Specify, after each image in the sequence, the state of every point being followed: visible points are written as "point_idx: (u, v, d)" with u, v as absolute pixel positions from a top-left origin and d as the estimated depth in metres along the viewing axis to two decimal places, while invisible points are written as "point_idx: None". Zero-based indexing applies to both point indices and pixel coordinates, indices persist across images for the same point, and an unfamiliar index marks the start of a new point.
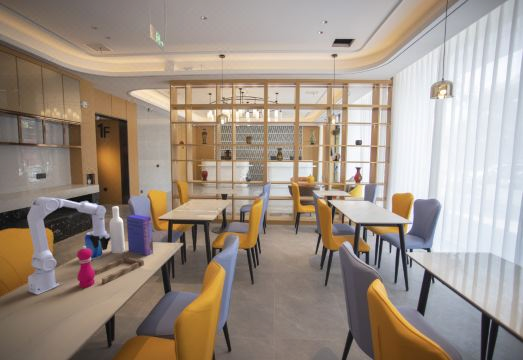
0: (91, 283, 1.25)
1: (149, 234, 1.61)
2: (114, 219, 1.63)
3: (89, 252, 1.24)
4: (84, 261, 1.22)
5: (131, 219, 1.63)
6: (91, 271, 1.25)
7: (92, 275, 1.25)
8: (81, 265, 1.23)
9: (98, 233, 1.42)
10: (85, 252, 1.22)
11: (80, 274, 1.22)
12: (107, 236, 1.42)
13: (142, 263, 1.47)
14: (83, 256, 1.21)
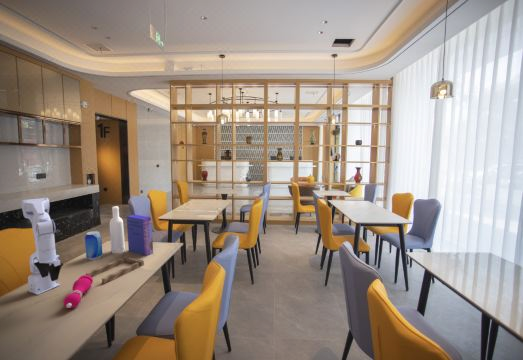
0: None
1: (149, 234, 1.61)
2: (114, 219, 1.63)
3: None
4: None
5: (131, 219, 1.63)
6: (86, 291, 1.17)
7: None
8: None
9: (45, 259, 1.07)
10: (73, 307, 1.06)
11: None
12: (57, 263, 1.07)
13: (142, 263, 1.47)
14: None
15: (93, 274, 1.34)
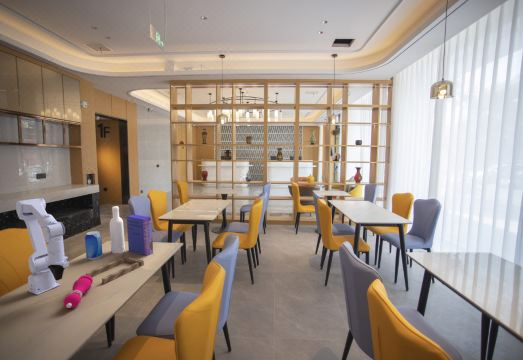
0: None
1: (149, 234, 1.61)
2: (114, 219, 1.63)
3: None
4: None
5: (131, 219, 1.63)
6: (86, 291, 1.17)
7: None
8: None
9: (54, 261, 1.11)
10: (73, 307, 1.06)
11: None
12: (65, 265, 1.10)
13: (142, 263, 1.47)
14: None
15: (93, 274, 1.34)
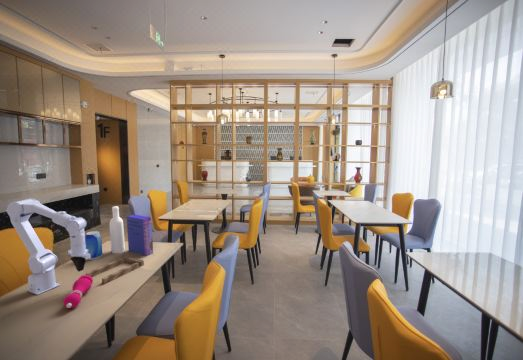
0: None
1: (149, 234, 1.61)
2: (114, 219, 1.63)
3: None
4: None
5: (131, 219, 1.63)
6: (86, 291, 1.17)
7: None
8: None
9: (77, 253, 1.19)
10: (73, 307, 1.06)
11: None
12: (88, 256, 1.18)
13: (142, 263, 1.47)
14: None
15: (93, 274, 1.34)
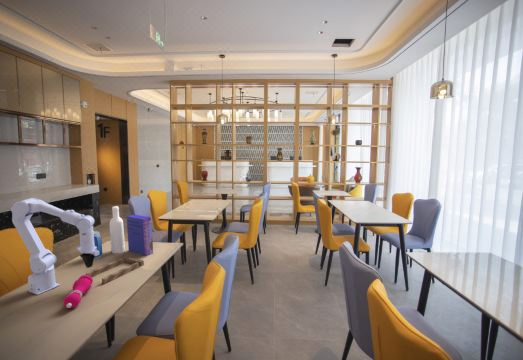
0: None
1: (149, 234, 1.61)
2: (114, 219, 1.63)
3: None
4: None
5: (131, 219, 1.63)
6: (86, 291, 1.17)
7: None
8: None
9: (86, 250, 1.23)
10: (73, 307, 1.06)
11: None
12: (97, 253, 1.22)
13: (142, 263, 1.47)
14: None
15: (93, 274, 1.34)
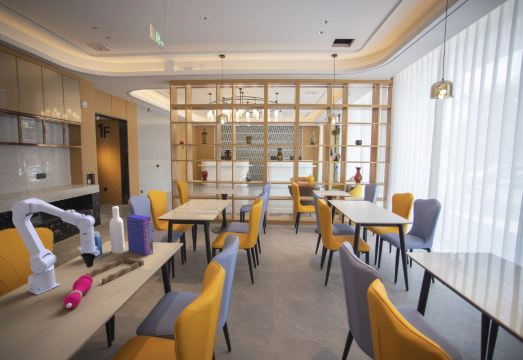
0: None
1: (149, 234, 1.61)
2: (114, 219, 1.63)
3: None
4: None
5: (131, 219, 1.63)
6: (86, 291, 1.17)
7: None
8: None
9: (87, 249, 1.23)
10: (73, 307, 1.06)
11: None
12: (97, 253, 1.23)
13: (142, 263, 1.47)
14: None
15: (93, 274, 1.34)
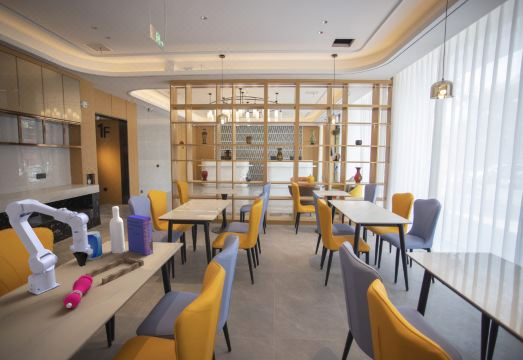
0: None
1: (149, 234, 1.61)
2: (114, 219, 1.63)
3: None
4: None
5: (131, 219, 1.63)
6: (86, 291, 1.17)
7: None
8: None
9: (79, 248, 1.20)
10: (73, 307, 1.06)
11: None
12: (90, 252, 1.19)
13: (142, 263, 1.47)
14: None
15: (93, 274, 1.34)
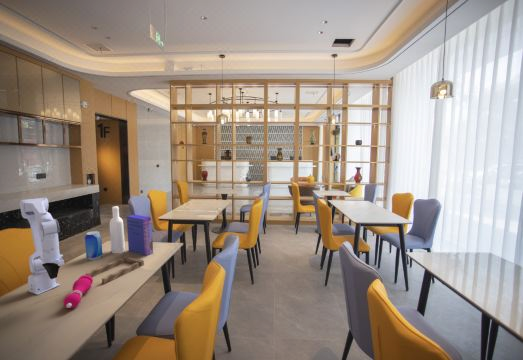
0: None
1: (149, 234, 1.61)
2: (114, 219, 1.63)
3: None
4: None
5: (131, 219, 1.63)
6: (86, 291, 1.17)
7: None
8: None
9: (49, 259, 1.08)
10: (73, 307, 1.06)
11: None
12: (61, 263, 1.07)
13: (142, 263, 1.47)
14: None
15: (93, 274, 1.34)
